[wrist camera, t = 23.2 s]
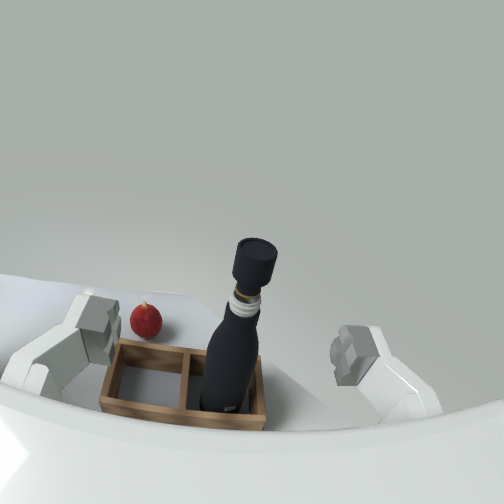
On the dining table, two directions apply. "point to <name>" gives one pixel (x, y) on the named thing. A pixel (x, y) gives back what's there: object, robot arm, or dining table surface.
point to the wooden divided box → (186, 365)
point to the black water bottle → (237, 331)
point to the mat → (163, 389)
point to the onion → (146, 320)
